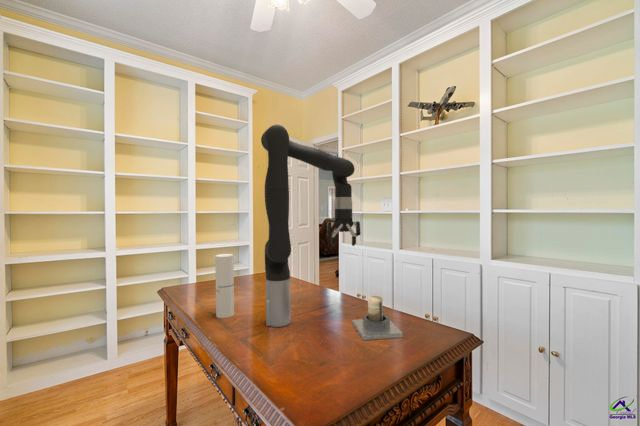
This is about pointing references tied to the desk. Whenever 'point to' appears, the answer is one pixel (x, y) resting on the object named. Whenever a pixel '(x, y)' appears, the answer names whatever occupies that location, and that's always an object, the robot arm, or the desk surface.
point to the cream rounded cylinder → (375, 308)
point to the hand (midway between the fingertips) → (343, 245)
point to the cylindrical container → (224, 285)
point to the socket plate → (376, 328)
